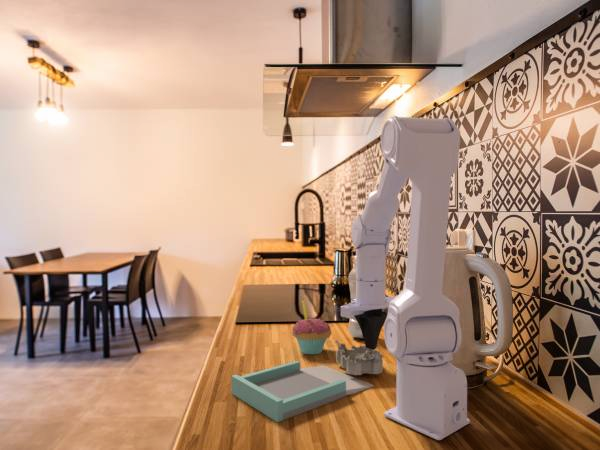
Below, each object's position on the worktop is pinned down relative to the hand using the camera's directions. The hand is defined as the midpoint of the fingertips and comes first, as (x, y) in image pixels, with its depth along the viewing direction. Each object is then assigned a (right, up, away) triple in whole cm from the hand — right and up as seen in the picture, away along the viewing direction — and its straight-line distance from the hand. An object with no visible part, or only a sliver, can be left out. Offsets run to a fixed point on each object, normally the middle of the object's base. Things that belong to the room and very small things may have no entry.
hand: (370, 348), depth 84 cm
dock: (-14, -4, -11) cm, 18 cm away
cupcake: (-11, -4, +10) cm, 16 cm away
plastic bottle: (+1, -3, +20) cm, 20 cm away
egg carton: (-5, -5, -4) cm, 7 cm away
